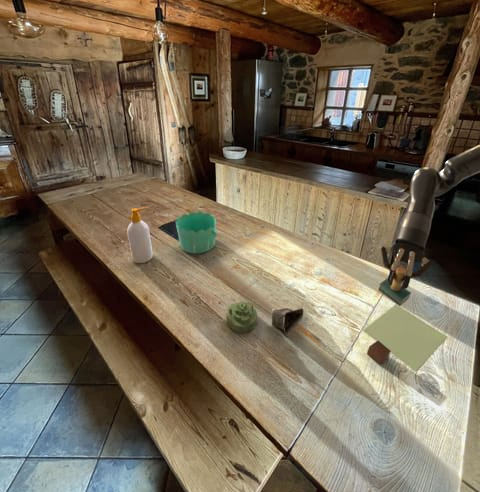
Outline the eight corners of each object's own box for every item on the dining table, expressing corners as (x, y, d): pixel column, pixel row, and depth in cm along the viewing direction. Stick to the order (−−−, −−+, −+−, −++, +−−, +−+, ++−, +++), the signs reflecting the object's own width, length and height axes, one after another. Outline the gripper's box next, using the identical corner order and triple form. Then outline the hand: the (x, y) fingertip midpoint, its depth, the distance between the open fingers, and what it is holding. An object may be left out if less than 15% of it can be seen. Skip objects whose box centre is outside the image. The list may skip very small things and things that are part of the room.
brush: (386, 283, 83) (394, 259, 77) (408, 299, 78) (418, 274, 72) (378, 290, 82) (385, 265, 75) (399, 306, 77) (409, 281, 70)
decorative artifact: (234, 304, 94) (221, 325, 85) (234, 288, 91) (220, 309, 82) (261, 313, 90) (249, 336, 82) (262, 297, 87) (250, 320, 79)
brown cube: (374, 349, 78) (378, 340, 77) (387, 360, 75) (391, 351, 74) (366, 355, 77) (369, 346, 75) (378, 367, 74) (382, 357, 72)
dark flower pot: (287, 304, 95) (269, 295, 87) (305, 309, 90) (288, 301, 82) (279, 331, 91) (261, 325, 83) (298, 339, 87) (279, 333, 79)
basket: (171, 242, 129) (168, 218, 123) (202, 229, 140) (200, 207, 135) (192, 260, 116) (191, 234, 111) (225, 245, 127) (224, 221, 122)
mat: (395, 305, 94) (395, 303, 94) (446, 338, 82) (447, 336, 82) (361, 331, 84) (362, 330, 84) (415, 373, 72) (415, 371, 72)
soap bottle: (155, 260, 116) (148, 211, 105) (132, 265, 112) (122, 215, 102) (153, 250, 123) (146, 203, 113) (132, 254, 120) (122, 206, 109)
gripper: (438, 242, 77) (423, 299, 74) (386, 228, 85) (369, 279, 81) (445, 234, 71) (428, 296, 67) (387, 219, 78) (369, 274, 75)
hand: (396, 286), depth 74 cm, fingers closed on brush, 2 cm apart
